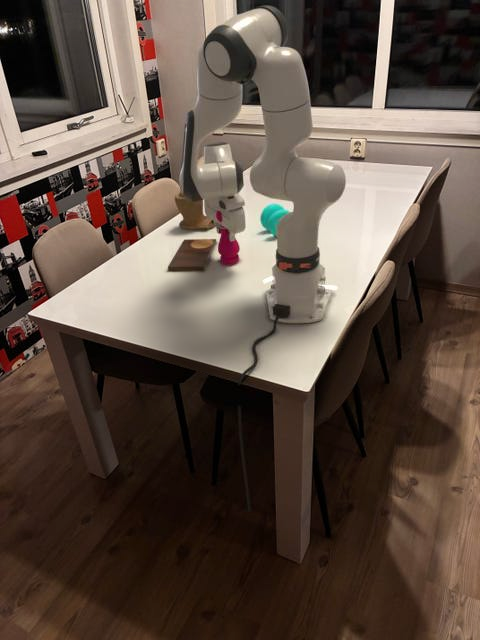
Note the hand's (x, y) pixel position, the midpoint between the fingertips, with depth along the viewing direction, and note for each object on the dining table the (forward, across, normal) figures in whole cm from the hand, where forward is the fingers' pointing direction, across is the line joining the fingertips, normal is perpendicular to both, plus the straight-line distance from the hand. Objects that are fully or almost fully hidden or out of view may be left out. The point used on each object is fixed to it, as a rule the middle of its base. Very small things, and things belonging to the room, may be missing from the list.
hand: (225, 236), depth 160 cm
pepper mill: (+9, +1, 0) cm, 9 cm away
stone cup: (+10, -33, +6) cm, 35 cm away
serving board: (+9, -11, -8) cm, 16 cm away
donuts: (+9, -7, +26) cm, 28 cm away
